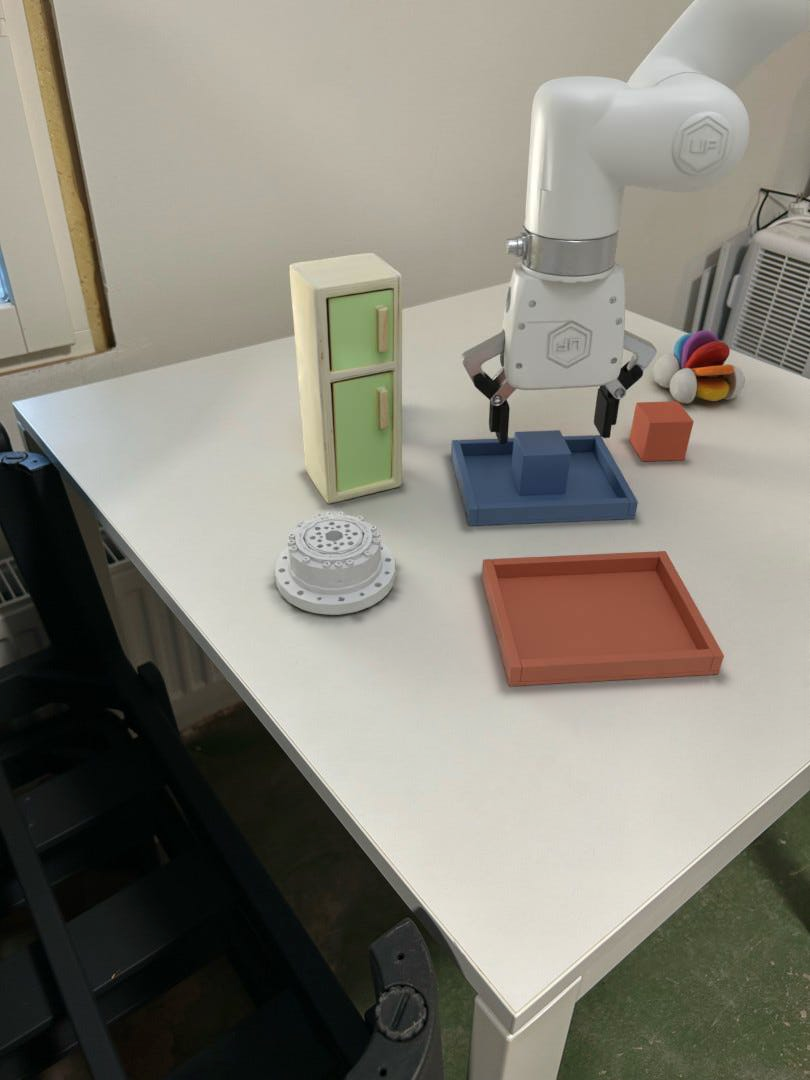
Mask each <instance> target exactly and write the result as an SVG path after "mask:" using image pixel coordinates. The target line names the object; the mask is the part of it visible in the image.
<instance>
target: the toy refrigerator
mask: <svg viewBox="0 0 810 1080" xmlns="http://www.w3.org/2000/svg"><path fill="white" fill-rule="evenodd" d="M288 269H289V284H290V285H289V286H290V297H291V307H292V320H293V330H294V331H293V333H294V343H295V344H294V345H295V355H296V368H297V378H298V379H297V380H298V390H299V402H300V403H299V405H300V415H301V417H300V418H301V427H302V438H303V450H304V463H305V470H306V473H307V475H308V476H309V478H310V479H311V481H312V482H313V484H314V486H315V488H316V489H317V490H318V492H319V493H320V495H321V496H322V498H323V499H324V501H325V502H326V504H334V503H338V502H342V501H347V500H350V499H355V498H359V497H364V496H367V495H371V494H375V493H379V492H382V491H388V490H391V489H396V488H399V487H401V486H402V483H403V276H402V274H401V273H400V272H399V271H398V270H397V269H395V268H394V267H393V266H391V265H390V264H389V263H388V262H386V261H385V260H384V259H382V258H381V257H379V256H378V255H377V254H376V253H374V252H364V253H355V254H348V255H341V256H335V257H328V258H320V259H314V260H305V261H299V262H293V263H290V265H289V268H288Z"/></svg>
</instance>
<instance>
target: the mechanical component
mask: <svg viewBox="0 0 810 1080" xmlns="http://www.w3.org/2000/svg"><path fill="white" fill-rule="evenodd" d="M364 518H365V517H363V516H362V515H358V516H354V515H348V514H345V513H344V511H338V512H337V513H336V514H334V512H332V511H327V512H326V513H325V515H323V514H322V513H317V514H315V517H312V518H310V519H308V520H306V521H304V520H302V521H301V520H300V521H298V522H297V526H296V527H295V528H294V529H293V531H291V532H290V533H289V534H288V539H287V546H286V547H285V548H284V549H283V550H282V551H281V553H280V554H279V555H278V557H277V559H276V562H275V565H274V566H275V567H274V569H275V571H274V576H275V583H276V588H277V589H278V591H279V593H280V595H281V596H282V598H283V599H285V600H286V601H287V602H288V603H289V604H291V605H292V606H294V607H297V608H299V609H300V610H302V611H305V612H309V613H313V614H318V615H319V614H320V615H331V616H332V615H333V616H335V615H337V616H339V615H346V614H352V613H358V612H359V611H362V610H365V609H367V608H371V607H372V606H374V605H376V604H377V603H379V602H381V601H382V600H383V599H384V598H385V597H386V596H387V595H388V594H389V593H390V592H391V590H392V589H393V586H394V583H395V580H396V575H397V574H396V573H397V572H396V570H397V569H396V558H395V557H394V555H393V553H392V551H391V549H390V548H389V547H388V546H386V544H384V543H383V542H382V541H381V533H380V532H379V531H378V529H377V528H378V527H377V526H376V525H374V524H371V523H370V522H368V521H367V520H365V519H364Z"/></svg>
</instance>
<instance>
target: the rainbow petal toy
mask: <svg viewBox="0 0 810 1080" xmlns="http://www.w3.org/2000/svg"><path fill="white" fill-rule="evenodd" d="M672 351H673V353H666V354H663V355H662V356H660V357H659V358H658V359H657V360H656V362H655V364H654V365H653V369H652V373H653V378H654V380H655V382H656V383H657V384H658V385H659V386H660V387H661V388H665V389H669V392H670V394H671V396H672V398H673V399H674V400H675V401H678V402H679V403H680V404H690V403H692V402H693V401H694V400H695V398H696V397H698V398H699V399H702V400H706V401H712V402H715V401H716V402H717V401H720V400H723V399H724V400H729V401H730V400H732V399H735V398H736V397H738V396H739V395H740V394H741V393H742V391H743V390H744V388H745V385H746V379H745V375H744V372H743V371H742V369H741V368H739V367H738V366H736V365H734V364H729V363H728V364H726V363H725V362H726V361H727V360H728V358H729V356H730V354H731V350H730V347H729V345H728V344H727V343H725V342H723V341H720V340H719V338H718V336H717V335H716V334H715V333H714V332H713V331H710V330H706V329H704V330H699V331H697V332H695V333H687V334H683V335H682V336H680V337H679V338H678V339H677V340H676V342H675V344H674V346H673V350H672Z"/></svg>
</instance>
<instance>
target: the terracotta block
mask: <svg viewBox="0 0 810 1080" xmlns="http://www.w3.org/2000/svg"><path fill="white" fill-rule="evenodd" d="M694 422H695V421H694V420H693V419H692V417H691V415H690V414H689V413H688V412H687V411H686V409H685V408H684V407H683V405H682V403H681V402H679V401H677V400H673V401H671V400H669V401H668V400H667V401H637V402H636V404H635V409H634V413H633V419H632V424H631V427H630V428H631V429H630V434H629V439H628V440H629V442H630V444H631V446H632V447H633V449H634V450H635V452H636V454H637V455H638V457H639V459H640V460H641V462H662V461H663V462H664V461H665V462H667V461H684V460H685V459H686V454H687V451H688V446H689V443H690V438H691V435H692V430H693V426H694Z"/></svg>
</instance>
